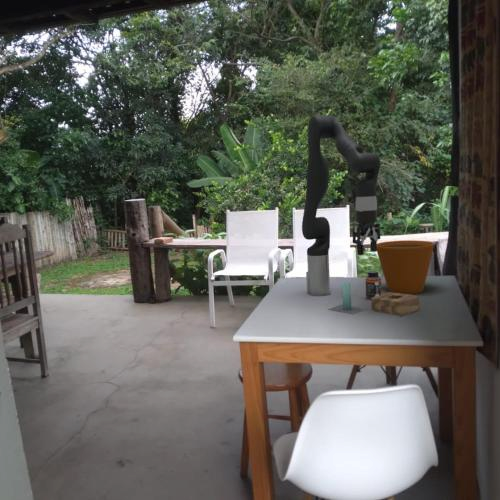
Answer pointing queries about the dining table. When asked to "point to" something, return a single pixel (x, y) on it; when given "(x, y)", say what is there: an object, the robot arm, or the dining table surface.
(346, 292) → the peg
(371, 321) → the dining table surface
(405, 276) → the flower pot
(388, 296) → the hole block
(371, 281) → the supplement bottle
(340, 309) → the mat
